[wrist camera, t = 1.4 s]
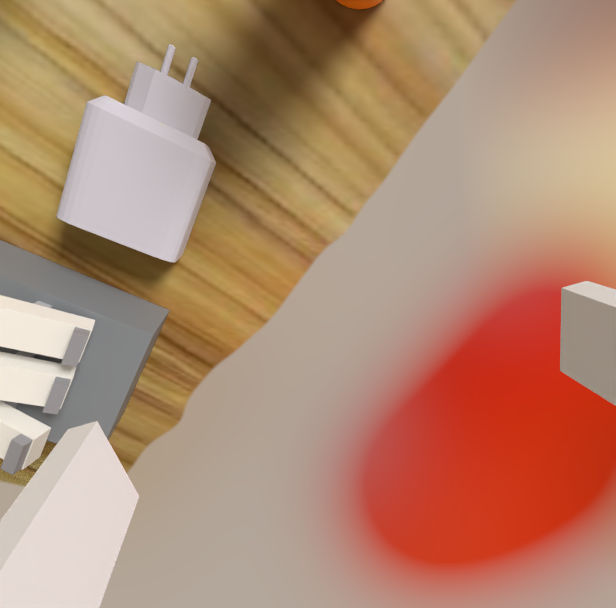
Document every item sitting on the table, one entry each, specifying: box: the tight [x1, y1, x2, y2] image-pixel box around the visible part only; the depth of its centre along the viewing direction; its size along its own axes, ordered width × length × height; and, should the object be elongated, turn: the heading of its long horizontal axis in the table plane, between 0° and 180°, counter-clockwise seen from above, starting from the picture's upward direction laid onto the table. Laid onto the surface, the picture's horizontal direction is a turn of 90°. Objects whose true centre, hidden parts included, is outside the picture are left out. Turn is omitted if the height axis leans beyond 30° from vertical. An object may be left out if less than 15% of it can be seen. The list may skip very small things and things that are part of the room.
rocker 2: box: [0, 352, 77, 414], centre depth 26 cm, size 8×3×2 cm, turn 62°
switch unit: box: [0, 240, 170, 443], centre depth 31 cm, size 16×13×7 cm
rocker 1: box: [0, 295, 95, 367], centre depth 25 cm, size 8×3×2 cm, turn 62°
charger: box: [56, 45, 216, 262], centre depth 28 cm, size 5×9×15 cm
